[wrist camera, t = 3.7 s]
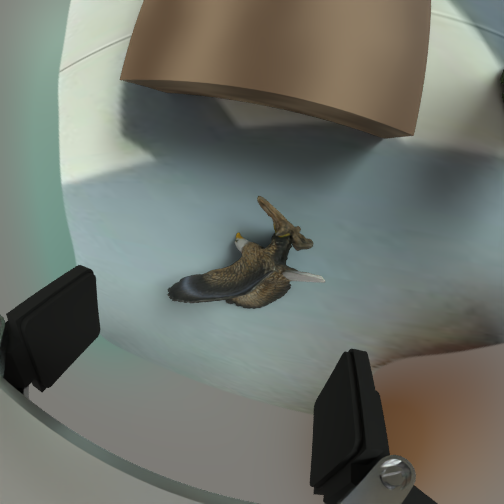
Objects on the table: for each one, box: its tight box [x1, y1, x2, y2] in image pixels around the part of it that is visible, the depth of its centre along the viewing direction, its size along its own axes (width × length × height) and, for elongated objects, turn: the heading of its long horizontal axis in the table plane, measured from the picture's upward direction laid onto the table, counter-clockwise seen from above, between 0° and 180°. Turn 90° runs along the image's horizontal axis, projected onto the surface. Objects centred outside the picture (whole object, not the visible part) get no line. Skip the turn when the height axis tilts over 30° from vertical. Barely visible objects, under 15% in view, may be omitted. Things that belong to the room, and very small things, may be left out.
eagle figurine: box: [168, 196, 325, 309], centre depth 19 cm, size 8×7×9 cm
